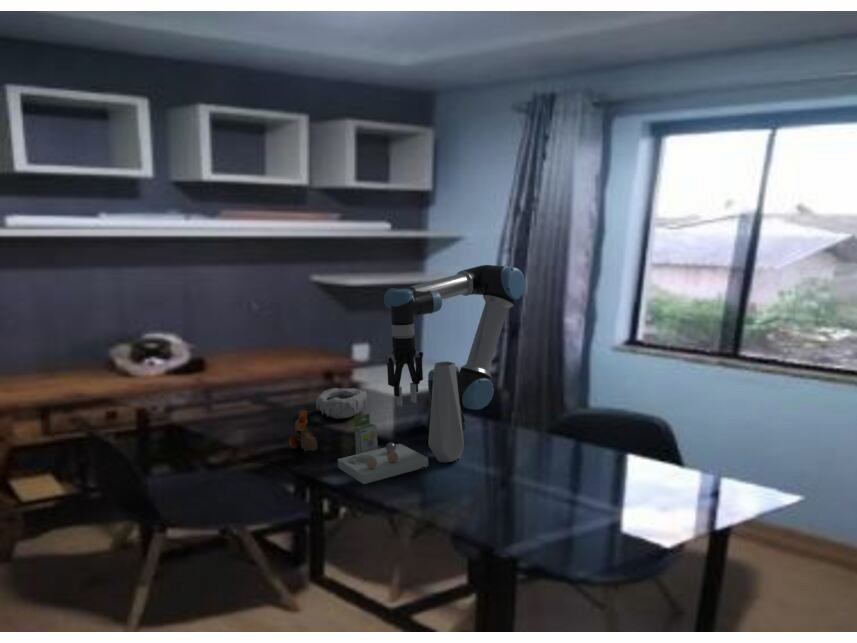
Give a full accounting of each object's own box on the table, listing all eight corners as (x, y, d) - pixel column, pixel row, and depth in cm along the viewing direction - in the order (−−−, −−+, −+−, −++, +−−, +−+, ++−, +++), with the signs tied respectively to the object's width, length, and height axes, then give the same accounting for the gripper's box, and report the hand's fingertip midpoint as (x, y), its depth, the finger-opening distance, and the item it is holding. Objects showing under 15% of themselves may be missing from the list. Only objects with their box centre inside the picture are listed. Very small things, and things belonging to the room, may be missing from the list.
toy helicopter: (310, 442, 285) (307, 406, 282) (328, 459, 266) (325, 421, 264) (288, 446, 281) (285, 410, 279) (305, 464, 263) (302, 425, 260)
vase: (455, 468, 253) (451, 369, 247) (425, 462, 259) (420, 366, 253) (473, 456, 263) (470, 361, 257) (443, 451, 269) (440, 358, 263)
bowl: (365, 423, 304) (364, 398, 302) (313, 425, 305) (311, 400, 303) (370, 407, 325) (368, 384, 323) (321, 409, 325) (319, 386, 323)
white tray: (400, 451, 271) (400, 443, 270) (428, 466, 256) (428, 457, 255) (338, 467, 258) (337, 459, 258) (363, 484, 243) (363, 475, 243)
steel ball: (393, 450, 264) (392, 440, 263) (398, 452, 261) (397, 442, 260) (384, 452, 262) (383, 442, 261) (389, 455, 259) (388, 445, 258)
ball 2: (394, 459, 255) (394, 449, 254) (400, 462, 252) (399, 452, 252) (385, 461, 253) (384, 451, 253) (390, 464, 250) (390, 454, 250)
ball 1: (374, 465, 250) (373, 455, 250) (379, 468, 248) (378, 458, 247) (364, 467, 249) (363, 457, 248) (369, 471, 246) (369, 460, 245)
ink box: (362, 457, 267) (359, 420, 264) (355, 454, 270) (353, 417, 267) (378, 452, 271) (376, 415, 269) (371, 449, 274) (369, 413, 272)
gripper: (420, 330, 266) (423, 396, 270) (374, 338, 256) (378, 406, 261) (432, 333, 260) (435, 401, 264) (385, 341, 250) (389, 411, 254)
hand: (406, 403), depth 262 cm, fingers open, 5 cm apart
